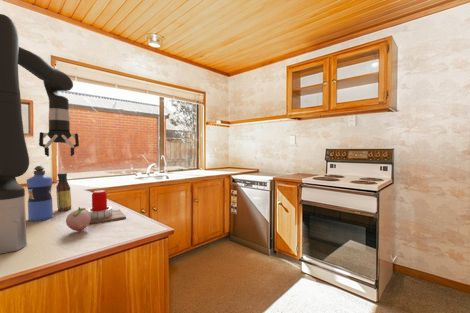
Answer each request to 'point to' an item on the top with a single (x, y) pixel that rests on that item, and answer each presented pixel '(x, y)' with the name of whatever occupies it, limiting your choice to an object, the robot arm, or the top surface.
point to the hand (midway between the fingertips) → (60, 156)
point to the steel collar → (100, 213)
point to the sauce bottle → (63, 193)
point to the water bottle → (39, 196)
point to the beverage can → (99, 200)
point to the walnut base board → (115, 216)
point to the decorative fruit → (78, 219)
